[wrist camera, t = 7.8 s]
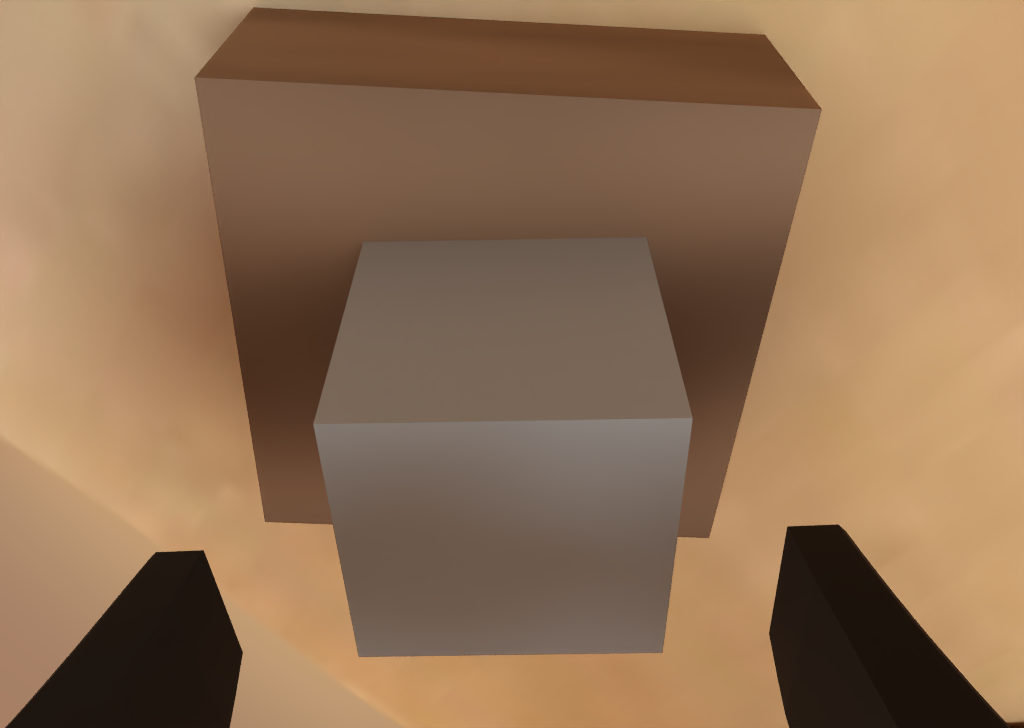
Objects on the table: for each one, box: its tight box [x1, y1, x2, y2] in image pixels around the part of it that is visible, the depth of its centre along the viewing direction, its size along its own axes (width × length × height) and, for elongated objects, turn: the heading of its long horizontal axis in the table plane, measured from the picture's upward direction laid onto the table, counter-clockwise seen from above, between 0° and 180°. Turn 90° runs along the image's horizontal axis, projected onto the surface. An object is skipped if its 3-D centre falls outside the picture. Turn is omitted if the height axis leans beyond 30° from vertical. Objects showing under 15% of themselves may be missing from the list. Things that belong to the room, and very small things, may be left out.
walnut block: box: [195, 8, 822, 538], centre depth 17 cm, size 9×9×4 cm
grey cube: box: [313, 237, 693, 657], centre depth 14 cm, size 4×4×4 cm
